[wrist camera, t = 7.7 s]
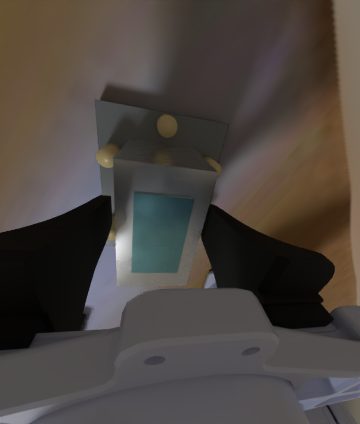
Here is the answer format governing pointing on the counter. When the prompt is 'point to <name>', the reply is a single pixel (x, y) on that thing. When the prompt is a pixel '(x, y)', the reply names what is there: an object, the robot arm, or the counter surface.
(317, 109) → the counter surface
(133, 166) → the block
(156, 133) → the tray
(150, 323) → the robot arm
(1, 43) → the counter surface
